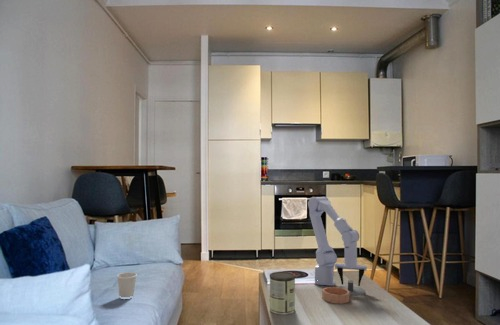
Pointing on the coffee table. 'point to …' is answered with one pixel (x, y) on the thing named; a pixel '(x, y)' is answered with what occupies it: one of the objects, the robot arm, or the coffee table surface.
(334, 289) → the bowl
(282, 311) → the coffee can
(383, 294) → the coffee table surface
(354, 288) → the lid
